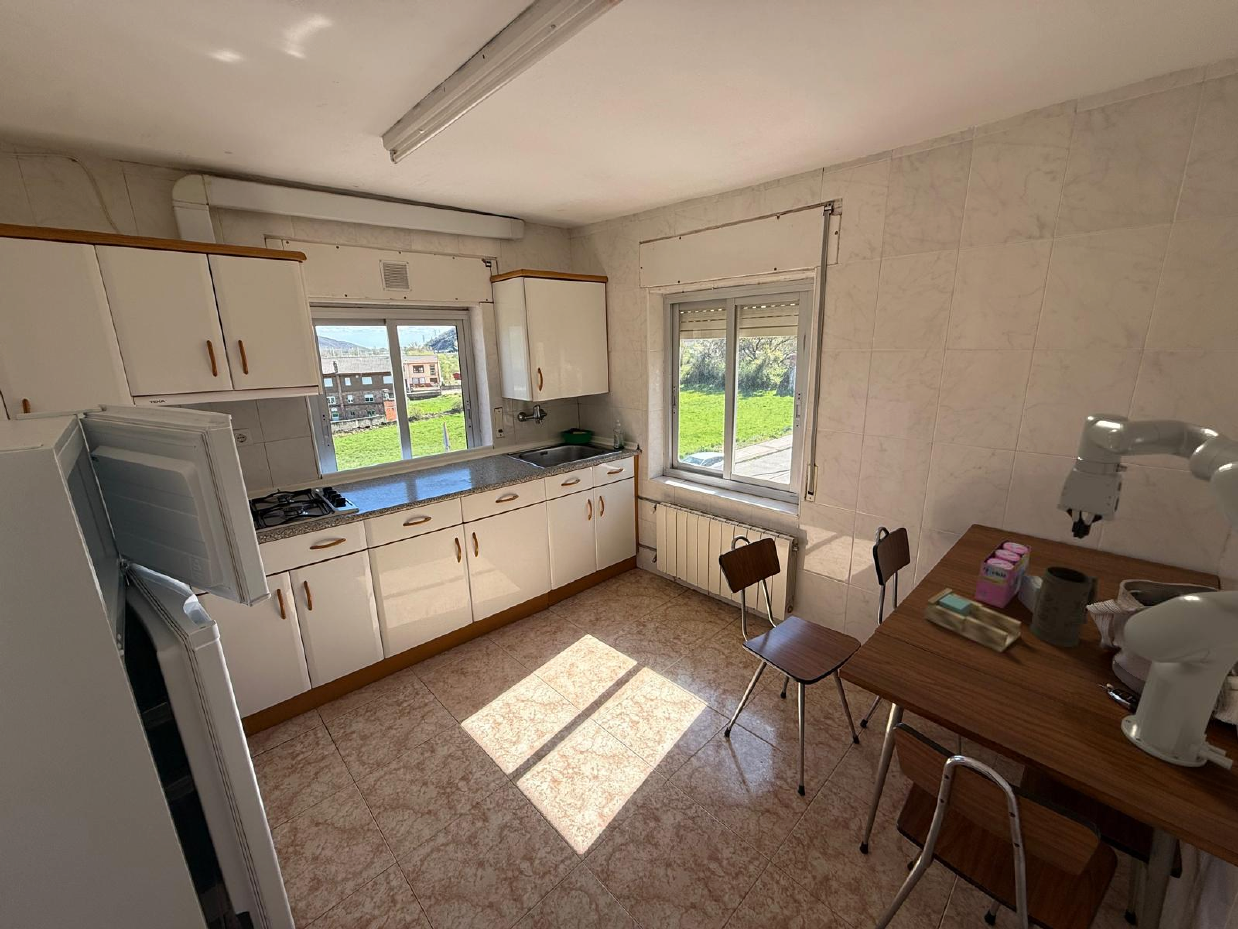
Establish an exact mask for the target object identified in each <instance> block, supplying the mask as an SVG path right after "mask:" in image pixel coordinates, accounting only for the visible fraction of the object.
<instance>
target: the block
mask: <svg viewBox="0 0 1238 929" xmlns="http://www.w3.org/2000/svg"><path fill="white" fill-rule="evenodd" d="M970 604H971V603H970V602H968V601H965V600H963V599H960V598H958V597H955V596H953V595H950V594H948V595H947V596H945V597H944V598H942V599H941V600H939V604H938V606H940V607H943V608H945V609H947V610H950V611H952V612H954V613H957V614H959V615H962V616H964V617H967V616H968V615H969V610H970Z"/></svg>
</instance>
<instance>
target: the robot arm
mask: <svg viewBox="0 0 1238 929" xmlns="http://www.w3.org/2000/svg"><path fill="white" fill-rule="evenodd" d="M1145 455H1146V456H1147V455H1149V456H1151V455H1171V456H1175V457H1180V458H1183V459H1186V460H1189V461H1188V467H1187V468H1188V471H1189V473H1190V474H1191V475H1192V476H1193V477H1194V478H1195V479H1197V480H1200V481H1202V482H1205V483H1208V484H1209V486H1210V491H1211V494H1212V497H1213V499H1214V500H1215V502H1216V504H1217V506H1218V507H1219V509H1220V511H1221V512H1222V514H1223V515H1224V516H1225V518H1226V520H1227V522H1228V523H1229V524H1230V526H1231V527H1232V529H1233V530H1234V532H1235V534H1236V536H1238V441H1236V440H1234V439H1233V440H1232V439H1231V438H1230V437H1228V436H1227V435H1225V434H1223V433H1222V432H1221V431H1219V430H1217V429H1215V428H1211V427H1207V426H1204V425H1200V424H1195V423H1190V422H1187V421H1182V420H1177V419H1175V420H1174V419H1149V420H1147V419H1146V420H1130V419H1129V418H1128V417H1126V416H1123V415H1120V414H1114V413H1113V414H1112V413H1094V414H1093V413H1092V414H1090V415H1088V416H1087V417H1086V418H1085V420H1084V423H1083V428H1082V432H1081V438H1080V441H1079V445H1078V450H1077V455H1076V458H1075V463H1074V466H1072V467H1070V469H1069V471H1068V473H1067V475H1066V477H1065V480H1064V482H1063V484H1062V488H1061V491H1060V494H1059V499H1058V503H1057V505H1056V508H1057V510H1058V509H1059V510H1060V511H1061V512H1065V513H1067V515H1068V516H1069V517H1070V518H1071V521H1072V522H1073V523H1072V527H1071V531H1070V532H1072V533H1073V536H1072V537H1073V538H1078V539H1080V540H1082V539H1084V538H1085V537H1086V536H1088V537H1089V535H1090V532H1091V529H1092V528H1091V527H1092V524H1094V523H1096V522H1099V521H1103V522H1112V521H1115V520H1116V512H1117V511H1118V509H1119V505H1120V502H1121V501H1120V500H1121V495H1122V488H1123V487H1122V486H1123V475H1122V474H1121V473H1120V472H1123V473H1127V472H1128V468H1129V466H1127V465H1124V464H1122V461H1121V460H1122V457H1123V456H1124V457H1131V456H1145ZM1083 512H1084V513H1087V515H1086V518H1085V519H1084V518H1083ZM1123 637H1124V641H1125V643H1126V644H1127V646H1128V647H1129V648H1130V650H1132V651H1133V652H1134V653H1135V654H1137V655H1138V656H1140V657H1141V658H1143V659H1145V660H1148V661H1151V665H1150V667H1149V670H1148V674H1147V678H1146V680H1145V684H1144V687H1143V689H1142V690H1143V691H1142V693H1141V696H1140V699H1139V702H1138V706H1137V709H1136V712H1135V714H1134V715H1133V714H1132V715H1127V716H1126V717H1124V718H1123V719H1122V721H1121V725H1120V727H1121V730H1122V732H1123V734H1124V735H1125V736H1126V738H1127V739H1128V740H1129V741H1130V742H1131V743H1133V744H1134V745H1136V746H1137V747H1138V748H1140V749H1141V750H1143V751H1144V752H1146V753H1148V754H1150V755H1152V756H1153V757H1156V758H1158V759H1161V760H1162V761H1166V762H1168V763H1171V764H1175V765H1178V766H1183V767H1192V768H1193V767H1194V768H1195V767H1196V768H1197V767H1201V766H1204V765H1205V764H1206V763H1207V761H1208V760H1209V761H1211V762H1213V763H1215V764H1216V765H1219V766H1221V767H1222V768H1225V769H1227V770H1231V767H1232V765H1233V762H1234V760H1232V759H1230V758H1228V757H1225V756H1226V753H1227V751H1225V750H1223V749H1221V748H1219V747H1215V746H1214V745H1211V744H1209V742H1208V741H1206V738H1207V735H1208V734H1205V731H1206V729H1207V726H1208V723H1209V720H1210V717H1211V715H1212V714H1213V713H1212V712H1213V710H1214V707H1215V704H1216V701H1217V699H1218V696H1219V694H1220V691H1221V690H1222V687H1223V684H1224V681H1225V680H1226V678H1227V676H1228V674H1229V672H1230V671H1231V670H1232V668H1233V667H1234V666H1235V665H1236V663H1237V662H1238V590H1225V591H1209V592H1204V591H1203V592H1196V593H1195V592H1192V593H1187V594H1184V595H1179V596H1176V597H1174V598H1171V599H1168V600H1166V601H1163V602H1161V603H1158V604H1156V605H1154V606H1150V607H1149V608H1146V609H1144V610H1141V611H1139V612H1137V613H1134V614H1133V615H1132V616H1131V617H1129V618H1128V619H1127V620H1126V622H1125V624H1124V627H1123Z"/></svg>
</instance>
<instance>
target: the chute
mask: <svg viewBox="0 0 1238 929" xmlns="http://www.w3.org/2000/svg"><path fill="white" fill-rule="evenodd" d="M948 594H950V595H953V596H955V597H958V598H960V599H963V600H965V601H968V602H970V603H971V604H970V610H969V615H968V616H967V617H964V616H962V615H959V614H957V613H954V612H952V611H950V610H947V609H945V608H943V607H940V606H938V604H939V600H941V599H942V598H944V597H945V596H947V595H948ZM924 619H926V620H928V621H931V622H933V623H935V624H937V625H939V626H942V627H943V628H946V629H948V630H951V631H952V632H955V633H957V634H959V635H962V636H964V637H966V638H968V639H970V640H972V641H975V642H977V643H979V644H982V645H983V646H985V647H988V648H990V649H993V650H995V651H997V652H999V653H1003V651H1004V650H1006V649H1007V647H1008V648H1009V646H1010V645H1012V644H1013V643H1014V642H1015V641H1016V640H1017V639H1018V638H1019V637H1020V636H1021V631H1020V629H1021V625H1022V621H1019V620H1018V619H1014V618H1012V617H1010V616H1007V615H1005V614H1002V613H999V612H997V611H995V610H992V609H989V608H988V607H984V605H983V604H981V603H979V602H976V601H974V600H971V599H969V598H966V597H964V596H961V595H958V594H956V593H953V589H951V588H948V587H946V588H945V589H943V590H942V591H940V592H938V593H937V594H935V595H934V596H932V597H931V598H930V599H928V600H926V606H925V611H924Z"/></svg>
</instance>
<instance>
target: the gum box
mask: <svg viewBox="0 0 1238 929" xmlns="http://www.w3.org/2000/svg"><path fill="white" fill-rule="evenodd" d="M1031 550H1032V546H1031V545H1025V546H1024V545H1022V544H1020V543H1014V542H1011V541H1010V540H1009V539H1004V540H1003V541H1002V542H1000V543H999V544H998V545H997V546H996V548H995V549H994V550H992V552H991V553H990V554H989V555H987V557H986V558H984V559H983V560H982V561H981V565H980V570H979V574H978V580H977V586H976V589H975V590H976V592H975V595H974V596H975V597H974V599H975V600H978V601H981V602H983V603H986V604H989V605H991V606H994V607H998V608H1001V609H1004V608H1005V607H1006V605H1008V604H1009V602H1010V601H1011V600H1012V599H1013V597H1014V596H1015V595H1016V594H1017V593H1018V592H1019V588H1020V583H1021V578H1022V575H1027V573H1028V572H1027V571H1028V566H1029V560H1030V555H1031Z"/></svg>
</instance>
